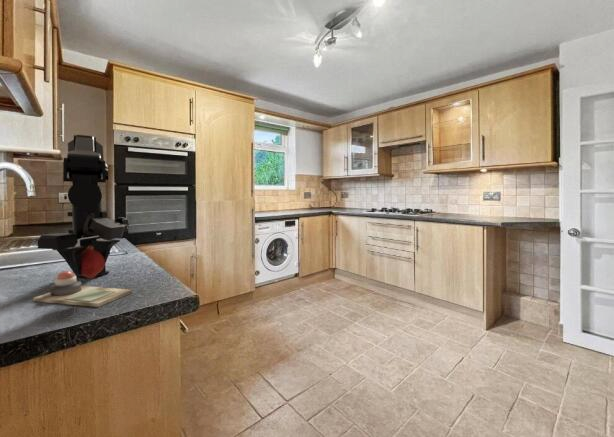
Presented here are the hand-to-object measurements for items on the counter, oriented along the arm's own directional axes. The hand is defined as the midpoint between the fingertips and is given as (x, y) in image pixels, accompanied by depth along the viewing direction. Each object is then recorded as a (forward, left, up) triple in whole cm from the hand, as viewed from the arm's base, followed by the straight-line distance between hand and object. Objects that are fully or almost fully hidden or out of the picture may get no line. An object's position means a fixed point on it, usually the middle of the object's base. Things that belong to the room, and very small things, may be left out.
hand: (90, 271), depth 71 cm
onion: (0, 0, -2) cm, 2 cm away
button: (-8, +1, -4) cm, 9 cm away
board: (-3, +1, -7) cm, 7 cm away
